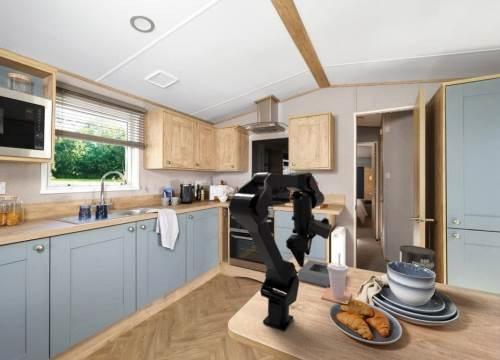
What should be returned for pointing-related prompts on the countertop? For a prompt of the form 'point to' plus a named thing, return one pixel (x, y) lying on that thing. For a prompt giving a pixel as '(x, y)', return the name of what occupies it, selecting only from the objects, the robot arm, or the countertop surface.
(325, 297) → the tile
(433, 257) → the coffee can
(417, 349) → the countertop surface
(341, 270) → the smoothie
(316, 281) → the socket block
